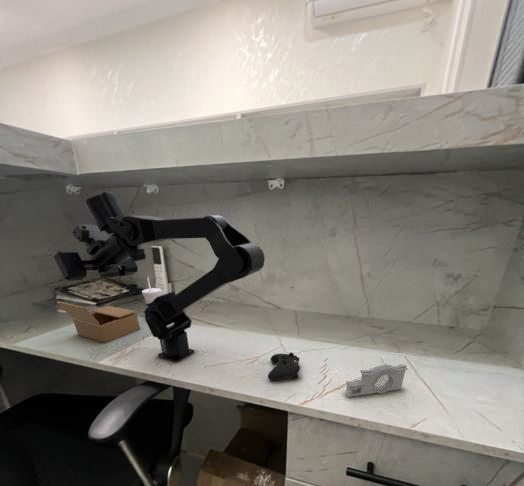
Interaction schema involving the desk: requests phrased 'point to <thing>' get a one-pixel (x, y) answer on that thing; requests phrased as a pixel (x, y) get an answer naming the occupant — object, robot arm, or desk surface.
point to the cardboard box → (108, 324)
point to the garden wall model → (373, 377)
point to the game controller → (284, 366)
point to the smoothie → (151, 293)
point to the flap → (78, 312)
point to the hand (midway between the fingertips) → (84, 277)
